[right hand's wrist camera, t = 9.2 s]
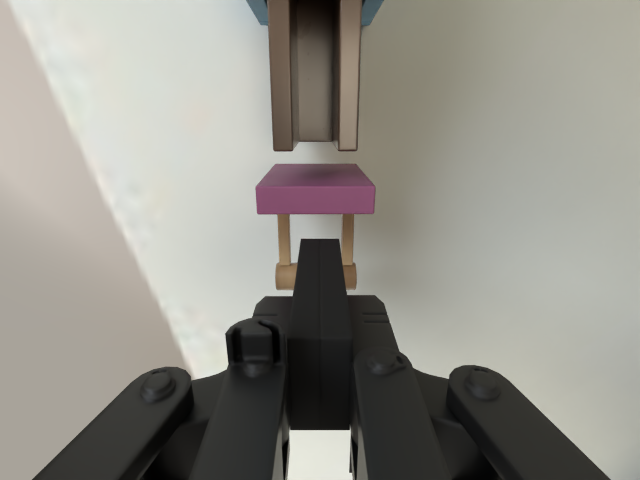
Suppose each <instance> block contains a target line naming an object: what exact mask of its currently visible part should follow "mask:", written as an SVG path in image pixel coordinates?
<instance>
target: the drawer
mask: <svg viewBox="0 0 640 480" xmlns="http://www.w3.org/2000/svg"><path fill="white" fill-rule="evenodd" d="M267 8H268V32H269V57H270V82H271V106H272V131H273V150H274V151H293V149H294V148H295V147H296V145H297V144H298V142H333V143H334V145H335V146H336V148H337V149H338V151H357V148H358V116H359V85H360V53H361V21H362V0H267ZM256 203H257V214H278V238H279V263H277V265H276V275H275V279H276V289H277V290H294V285H295V278H296V271H297V264H298V263H291V243H290V214H342V235H341V257H342V264H343V271H344V278H345V285H346V290H355V289H356V283H357V272H356V264H355V263H353V232H354V214H373V213H374V205H375V186H374V184H373V183H372V182H371V181H370V180H369V179H368V177H367V176H366V175H365V174H364V173H363V172H362V170H361V169H360V168H359V167H358V166H357V165H356V164H275V165H274V166H273V167H272V169H271V170H270V171H269V172H268V173H267V174H266V175H265V177H264V178H263V179H262V180H261V181H260V182H259V184H258V185H257V186H256Z"/></svg>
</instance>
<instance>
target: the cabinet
mask: <svg viewBox="0 0 640 480" xmlns="http://www.w3.org/2000/svg"><path fill="white" fill-rule="evenodd" d="M246 1H247V3H248V4H249V6H250V8H251V9H252V11H253V13H254V14H255V16H256V18H257V19H258V21H259V23H260V25H268V8H267V0H246ZM383 1H384V0H362V21H361V25H370V23H371V21H372V20H373V18H374V16H375V14H376V13H377V11H378V9H379V8H380V6H381V4H382V2H383Z"/></svg>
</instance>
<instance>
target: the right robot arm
mask: <svg viewBox="0 0 640 480" xmlns="http://www.w3.org/2000/svg"><path fill="white" fill-rule="evenodd" d="M225 335H226V344H227V354H228V363H229V365H228V368H227V370H225V371H223V372H221V373H219V374H216V375H213V376H210V377H205V378H201V379H197V380H192V381H191V376H190V375H189V374H188V372H187V371H186V370H183V369H181V368H178V367H163V368H158V369H153V370H151V371H149V372H147V373H145V374H142V375H141V376H139V377H138V378H137V379H135V380H134V381H133V382H131V383H130V384H129V385H128V386H127V387H126V388H125V389H124V390H123V391H122V392H121V393H120V394H119V395H118V396H117V397H116V398H115V399H114V400H113V401H112V402H111V403H110V404H109V405H108V406H107V407H106V408H105V409H104V410H103V411H102V412H101V413H100V414H99V415H98V416H97V417H96V418H95V419H94V420H93V421H91V422H90V423H89V424H88V425H87V426H86V427H85V428H84V429H83V430H82V431H81V432H80V433H79V434H78V435H77V436H76V437H75V438H74V439H73V440H72V441H71V442H70V443H69V444H68V445H67V446H66V447H65V448H64V449H63V450H62V451H61V452H60V453H59V454H58V455H57V456H56V457H55V458H54V459H53V460H52V461H51V462H50V463H49V464H48V465H47V466H46V467H45V468H44V469H42V470H41V471H40V472H39V473H38V474H37V475H36V476H35V477H34V478H33V479H32V480H287V476H288V464H289V452H290V444H289V430H350V428H351V444H350V470H349V473H352V475H353V480H611V479H610V478H608V477H607V476H606V475H605V474H604V473H603V472H602V471H601V470H600V469H599V468H598V467H597V466H596V465H595V464H594V463H593V462H592V461H591V460H590V459H589V458H588V457H587V456H586V455H585V454H584V453H583V452H582V451H581V450H580V449H579V448H578V447H577V446H576V445H575V444H573V443H572V442H571V441H570V440H569V439H568V438H567V437H566V436H565V435H564V434H563V433H562V432H561V431H560V430H559V429H558V428H557V427H556V426H555V425H554V424H553V423H552V422H551V421H550V420H549V419H548V418H547V417H546V416H545V415H544V414H543V413H542V412H541V411H540V410H539V409H537V408H536V407H535V406H534V405H533V404H532V403H531V402H530V401H529V400H528V399H527V398H526V397H525V396H524V395H523V394H522V393H521V392H520V391H519V390H518V389H517V388H516V387H515V386H514V385H513V384H512V383H511V382H510V381H509V380H507V379H506V378H505V377H503V376H502V375H501V374H499V373H497V372H495V371H493V370H491V369H488V368H485V367H481V366H476V365H463V366H461V367H458V368H455V369H454V370H453V371H452V372H451V374H450V375H449V379H446V378H441V377H437V376H433V375H429V374H426V373H423V372H420V371H418V370H416V369H414V368H413V367H412V364H411V363H410V361H409V359H408V358H407V357H406V356H405V355H404V354H402V353H401V352H400V351H399V349H398V346H397V343H396V340H395V336H394V333H393V330H392V327H391V324H390V322H389V318H388V315H387V312H386V309H385V306H384V303H383V302H382V301H381V300H379V299H378V298H377V297H376V296H375V295H347V292H346V285H345V278H344V271H343V264H342V257H341V250H340V243H339V239H301V243H300V250H299V257H298V264H297V271H296V278H295V285H294V292H293V296H265V297H264V298H263V299H262V300H261V301H260V302H259V303H258V304H256V307H255V310H254V313H253V316H252V318H249V319H246V320H243V321H240V322H238V323H236V324H234V325H233V326H231V327H230V328H229V329H228V331H227V332H226V333H225Z"/></svg>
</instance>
